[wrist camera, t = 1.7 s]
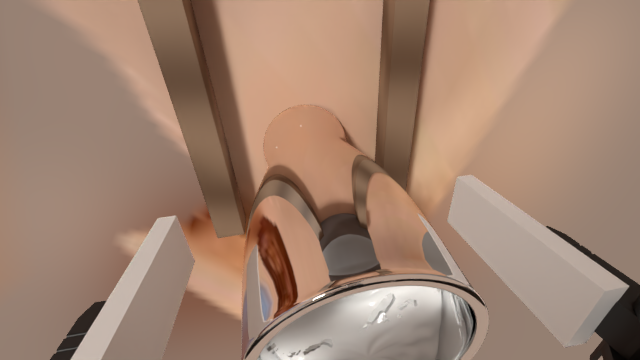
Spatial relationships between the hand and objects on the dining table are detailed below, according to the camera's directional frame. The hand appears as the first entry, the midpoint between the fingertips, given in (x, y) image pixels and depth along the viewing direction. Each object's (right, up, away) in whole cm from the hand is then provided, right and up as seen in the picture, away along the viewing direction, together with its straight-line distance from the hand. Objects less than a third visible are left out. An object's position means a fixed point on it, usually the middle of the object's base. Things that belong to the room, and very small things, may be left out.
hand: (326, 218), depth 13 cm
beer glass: (-1, +5, +7) cm, 9 cm away
